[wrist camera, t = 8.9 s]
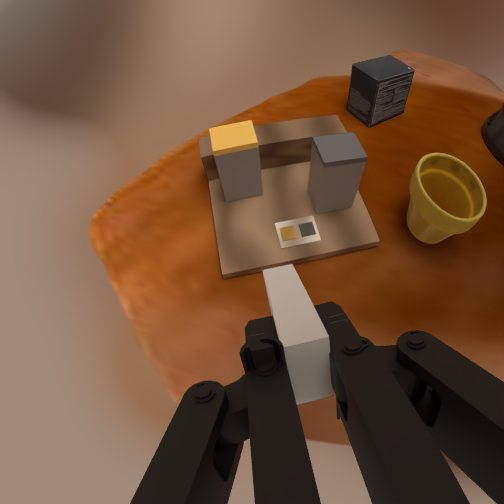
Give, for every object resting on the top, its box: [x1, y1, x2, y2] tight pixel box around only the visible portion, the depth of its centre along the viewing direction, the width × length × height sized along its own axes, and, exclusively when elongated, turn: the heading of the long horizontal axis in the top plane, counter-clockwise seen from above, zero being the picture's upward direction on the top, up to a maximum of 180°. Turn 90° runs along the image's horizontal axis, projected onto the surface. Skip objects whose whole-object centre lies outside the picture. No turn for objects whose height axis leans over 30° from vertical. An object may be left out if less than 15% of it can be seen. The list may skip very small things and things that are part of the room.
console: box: [199, 115, 380, 279], centre depth 39 cm, size 20×19×6 cm
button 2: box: [209, 120, 263, 202], centre depth 37 cm, size 5×4×10 cm
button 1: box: [308, 132, 367, 214], centre depth 35 cm, size 5×4×10 cm
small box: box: [347, 55, 415, 127], centre depth 45 cm, size 11×6×10 cm, turn 121°
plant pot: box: [406, 153, 487, 244], centre depth 34 cm, size 10×10×10 cm
